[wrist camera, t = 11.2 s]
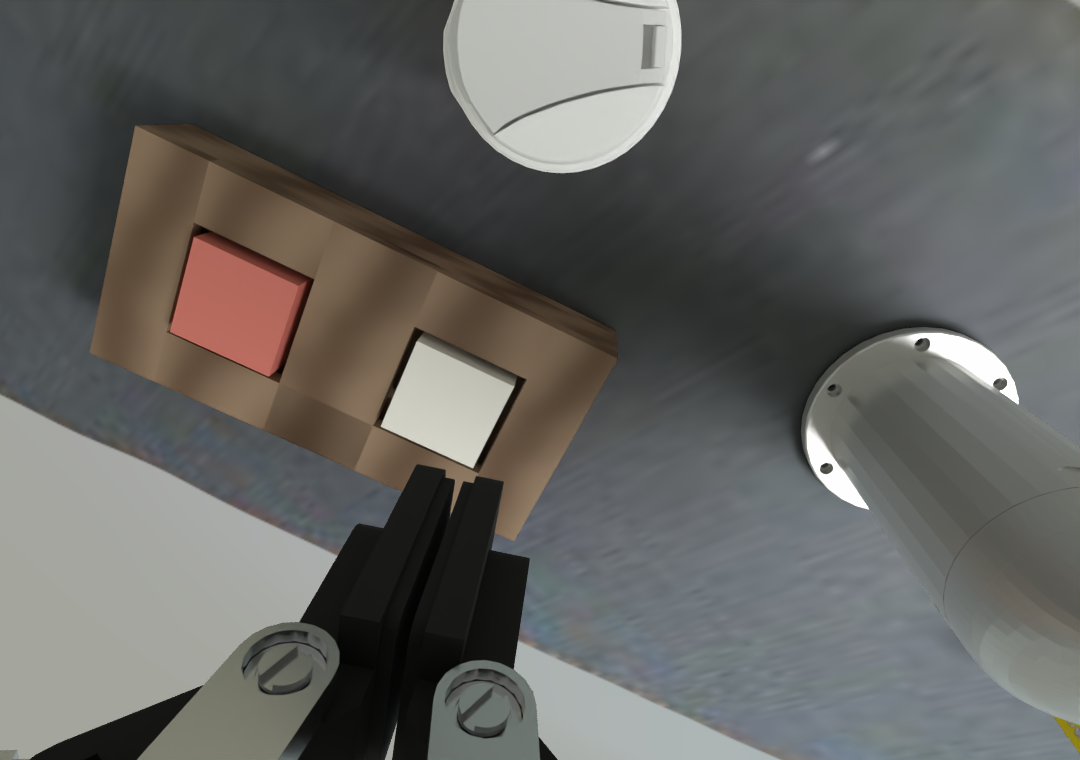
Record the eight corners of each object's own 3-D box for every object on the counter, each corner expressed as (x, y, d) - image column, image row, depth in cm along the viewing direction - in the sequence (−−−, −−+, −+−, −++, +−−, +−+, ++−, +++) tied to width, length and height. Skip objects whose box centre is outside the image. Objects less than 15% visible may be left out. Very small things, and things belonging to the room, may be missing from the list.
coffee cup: (656, -17, 34) (698, -106, 20) (645, 152, 37) (676, 177, 23) (495, -15, 34) (426, -100, 20) (498, 151, 37) (441, 175, 23)
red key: (320, 273, 38) (298, 286, 35) (291, 358, 40) (268, 376, 38) (223, 227, 38) (193, 236, 35) (199, 316, 40) (169, 332, 37)
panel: (615, 330, 41) (618, 358, 36) (522, 498, 46) (514, 541, 41) (191, 123, 38) (135, 125, 33) (143, 327, 43) (89, 352, 39)
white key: (520, 367, 40) (514, 386, 37) (481, 444, 42) (472, 468, 39) (429, 324, 39) (416, 341, 36) (395, 405, 41) (380, 426, 38)
